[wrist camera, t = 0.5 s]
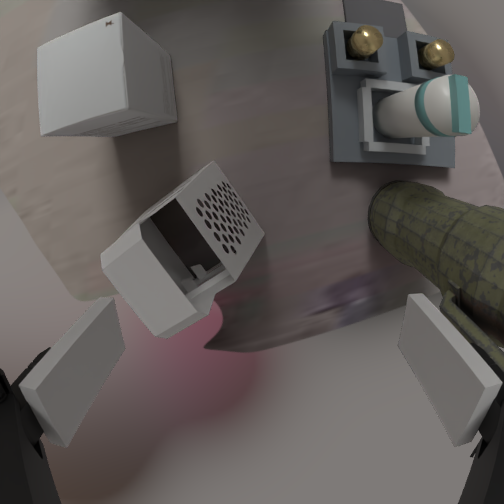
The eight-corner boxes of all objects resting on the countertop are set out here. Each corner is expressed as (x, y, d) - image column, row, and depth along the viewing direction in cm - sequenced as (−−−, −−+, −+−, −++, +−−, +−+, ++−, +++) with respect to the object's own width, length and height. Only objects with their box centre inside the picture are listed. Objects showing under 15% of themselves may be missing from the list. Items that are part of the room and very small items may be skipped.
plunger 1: (344, 36, 28) (354, 23, 24) (369, 38, 27) (381, 27, 24) (347, 58, 28) (357, 48, 25) (372, 61, 28) (384, 51, 24)
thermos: (343, 210, 37) (579, 440, 4) (418, 161, 35) (694, 235, 2) (376, 268, 39) (547, 504, 6) (446, 220, 37) (667, 358, 4)
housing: (322, 35, 31) (330, 20, 26) (439, 52, 30) (458, 43, 26) (330, 161, 36) (339, 162, 31) (446, 166, 35) (467, 170, 30)
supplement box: (104, 72, 33) (34, 44, 19) (171, 54, 32) (122, 7, 18) (111, 139, 36) (37, 138, 21) (179, 123, 35) (128, 109, 21)
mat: (341, -4, 29) (342, -6, 29) (400, 5, 29) (402, 4, 28) (346, 33, 31) (347, 31, 30) (406, 41, 30) (408, 40, 30)
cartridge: (370, 95, 31) (433, 66, 17) (408, 99, 31) (484, 78, 17) (372, 137, 33) (438, 132, 18) (410, 140, 33) (488, 140, 18)
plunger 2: (415, 46, 27) (430, 36, 23) (435, 50, 27) (452, 42, 23) (418, 68, 28) (434, 60, 24) (438, 72, 28) (455, 65, 24)
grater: (214, 160, 36) (161, 169, 17) (264, 233, 39) (266, 315, 20) (145, 211, 38) (51, 266, 19) (194, 278, 41) (144, 379, 22)
